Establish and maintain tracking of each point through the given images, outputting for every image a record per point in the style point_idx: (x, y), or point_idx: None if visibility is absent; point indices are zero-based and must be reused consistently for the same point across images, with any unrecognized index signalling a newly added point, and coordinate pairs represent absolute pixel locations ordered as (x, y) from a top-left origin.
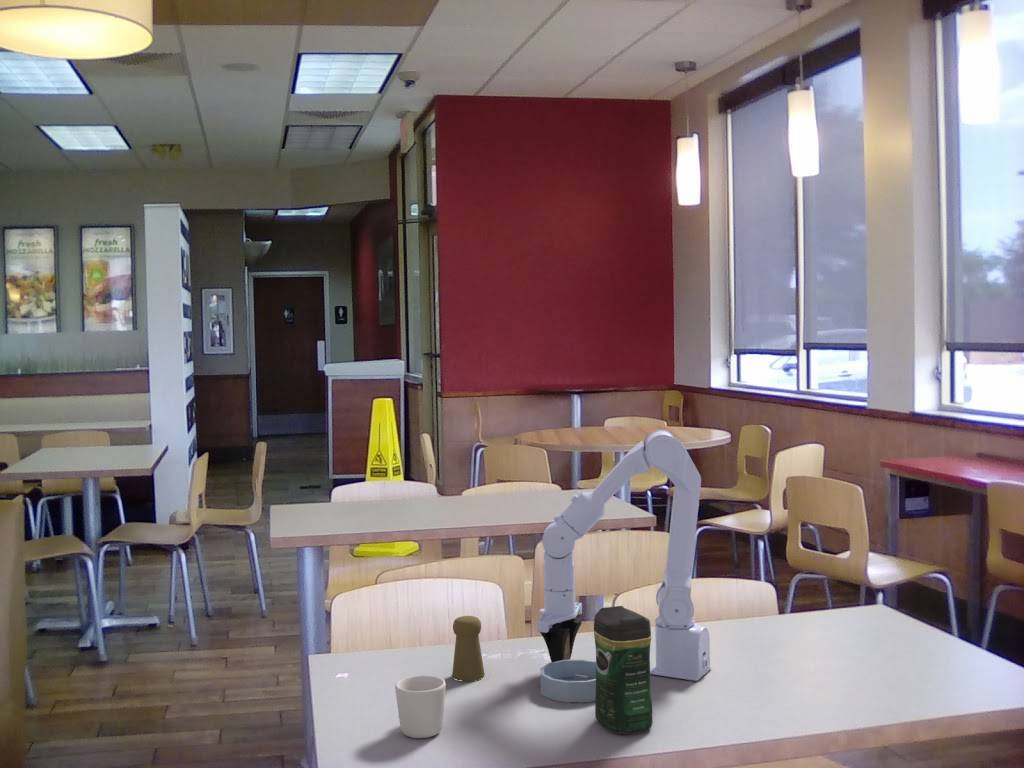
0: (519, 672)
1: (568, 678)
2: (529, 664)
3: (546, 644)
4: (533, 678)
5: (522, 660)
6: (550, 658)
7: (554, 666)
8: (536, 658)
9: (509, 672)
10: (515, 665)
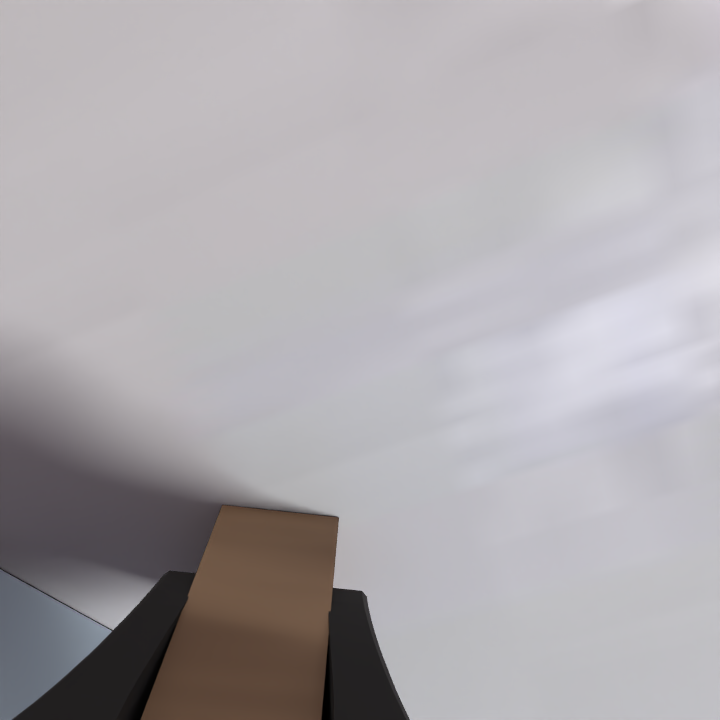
0: (87, 239)
1: None
2: (352, 238)
3: (37, 700)
4: (5, 419)
5: (455, 111)
6: (149, 593)
7: None
8: (561, 233)
9: (38, 139)
10: (269, 106)
